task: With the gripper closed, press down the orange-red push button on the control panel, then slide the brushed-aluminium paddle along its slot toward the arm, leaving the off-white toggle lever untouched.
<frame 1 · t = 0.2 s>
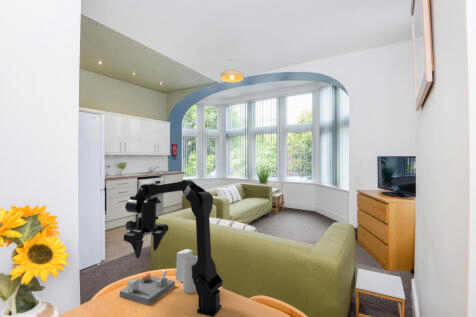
hand: (146, 253, 88), 14 cm above the table, tool pointing down, fingers open, 9 cm apart
push button: (146, 276, 90), point 4 cm above the table, slide at 0.0 cm
toggle lever: (163, 277, 87), point 5 cm above the table, hinge at -20.0°
control panel: (148, 291, 86), on the table
skincare box: (184, 279, 96), on the table
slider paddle: (133, 285, 83), point 4 cm above the table, slide at 0.0 cm
mug: (191, 287, 90), on the table
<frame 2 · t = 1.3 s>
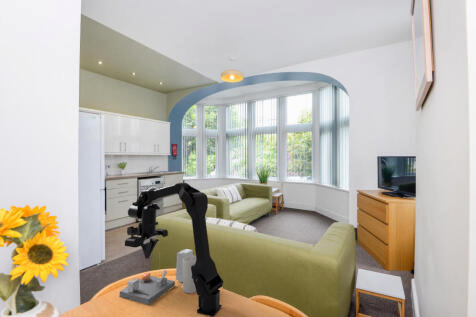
hand: (147, 258, 91), 11 cm above the table, tool pointing down, fingers closed
nothing on the table moved.
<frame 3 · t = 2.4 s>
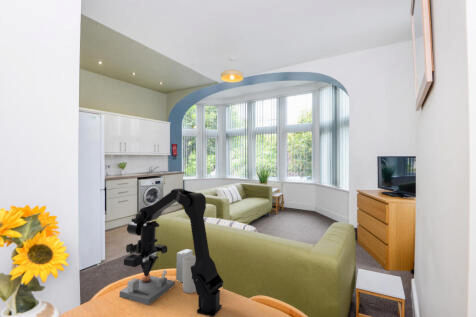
hand: (146, 275, 90), 4 cm above the table, tool pointing down, fingers closed, pressing on push button
push button: (146, 277, 90), point 3 cm above the table, slide at 0.6 cm, touching gripper
everything else where it was.
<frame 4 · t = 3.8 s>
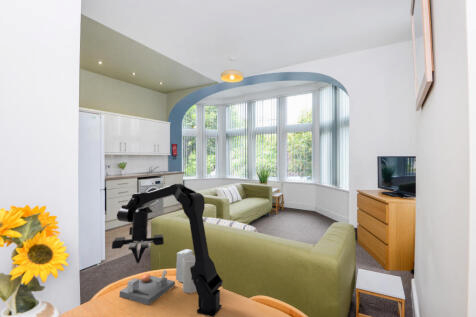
hand: (138, 263, 88), 10 cm above the table, tool pointing down, fingers closed
push button: (146, 278, 90), point 3 cm above the table, slide at 0.7 cm
everything else where it was.
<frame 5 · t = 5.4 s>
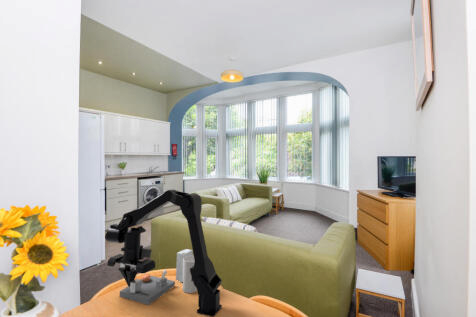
hand: (130, 286, 83), 3 cm above the table, tool pointing down, fingers closed
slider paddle: (135, 285, 82), point 4 cm above the table, slide at 1.3 cm, touching gripper
everything else where it was.
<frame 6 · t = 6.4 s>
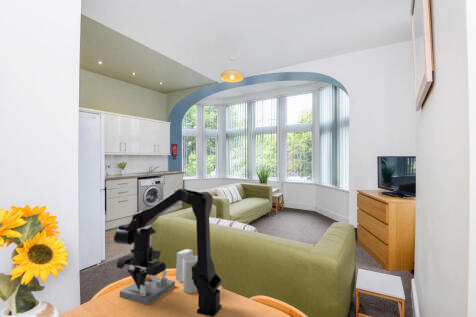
hand: (139, 288, 81), 3 cm above the table, tool pointing down, fingers closed
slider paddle: (145, 288, 80), point 4 cm above the table, slide at 6.0 cm, touching gripper
everything else where it was.
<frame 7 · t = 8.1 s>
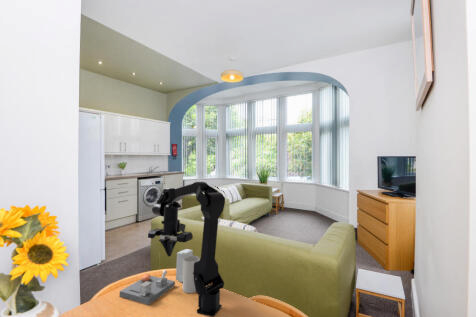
hand: (169, 256, 91), 12 cm above the table, tool pointing down, fingers closed
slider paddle: (145, 288, 80), point 4 cm above the table, slide at 6.0 cm
everything else where it was.
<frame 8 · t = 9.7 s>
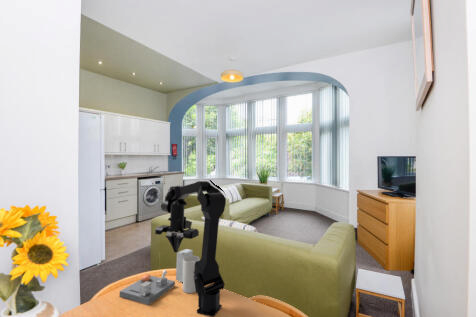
hand: (176, 252, 93), 13 cm above the table, tool pointing down, fingers closed
nothing on the table moved.
at the end: push button slide at 0.7 cm; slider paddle slide at 6.0 cm; toggle lever at -20° (first picture: -20°) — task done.
